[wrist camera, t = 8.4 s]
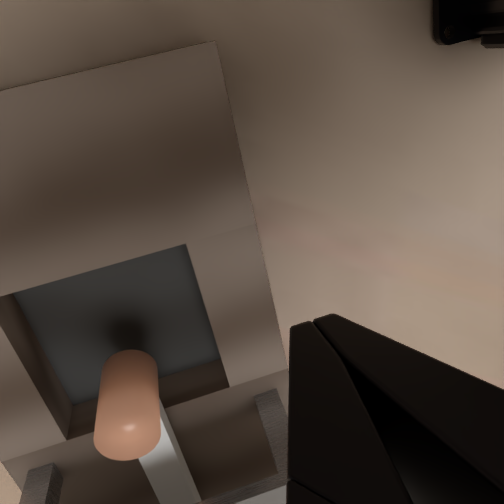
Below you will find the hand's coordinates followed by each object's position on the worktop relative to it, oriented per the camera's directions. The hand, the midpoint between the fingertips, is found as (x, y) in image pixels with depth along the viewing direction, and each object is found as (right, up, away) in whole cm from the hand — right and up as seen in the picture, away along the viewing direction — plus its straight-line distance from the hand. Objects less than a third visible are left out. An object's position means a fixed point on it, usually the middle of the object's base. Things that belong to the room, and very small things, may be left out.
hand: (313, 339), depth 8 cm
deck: (-6, -9, +17) cm, 20 cm away
